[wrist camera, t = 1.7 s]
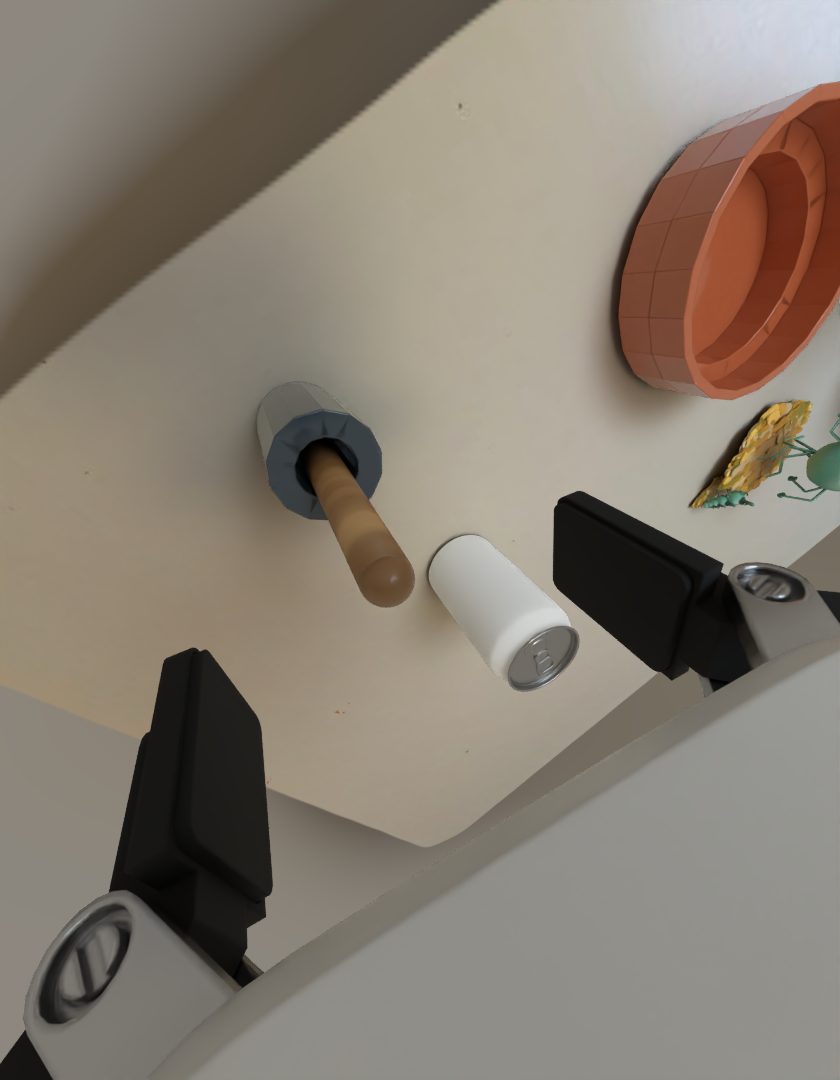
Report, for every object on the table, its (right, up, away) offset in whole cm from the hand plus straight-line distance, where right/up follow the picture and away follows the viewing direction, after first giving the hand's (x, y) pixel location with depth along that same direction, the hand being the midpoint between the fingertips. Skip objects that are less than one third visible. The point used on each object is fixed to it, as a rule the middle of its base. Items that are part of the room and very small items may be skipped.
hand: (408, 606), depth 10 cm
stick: (-7, +8, +13) cm, 17 cm away
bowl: (+21, +22, +20) cm, 37 cm away
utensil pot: (-7, +9, +14) cm, 18 cm away
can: (+4, 0, +25) cm, 25 cm away
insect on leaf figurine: (+37, +12, +34) cm, 52 cm away
